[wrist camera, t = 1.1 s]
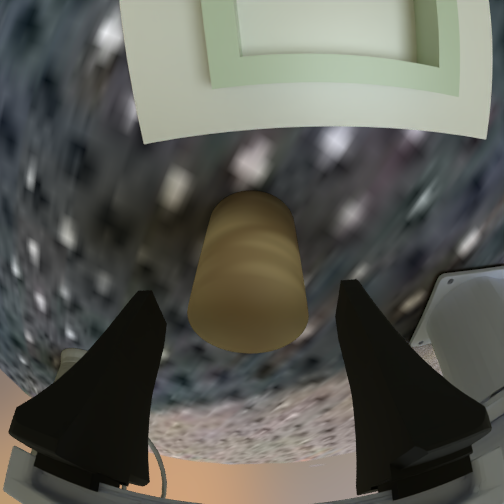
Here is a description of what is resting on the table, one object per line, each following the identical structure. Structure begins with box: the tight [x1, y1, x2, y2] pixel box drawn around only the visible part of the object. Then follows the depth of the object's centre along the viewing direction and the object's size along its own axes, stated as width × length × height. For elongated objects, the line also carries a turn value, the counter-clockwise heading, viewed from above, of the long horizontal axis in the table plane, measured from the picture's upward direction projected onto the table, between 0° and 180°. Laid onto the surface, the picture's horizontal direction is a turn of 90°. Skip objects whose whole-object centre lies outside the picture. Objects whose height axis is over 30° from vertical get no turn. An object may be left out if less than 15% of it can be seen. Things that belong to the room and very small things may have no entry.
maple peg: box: [187, 190, 308, 353], centre depth 13 cm, size 4×4×6 cm
